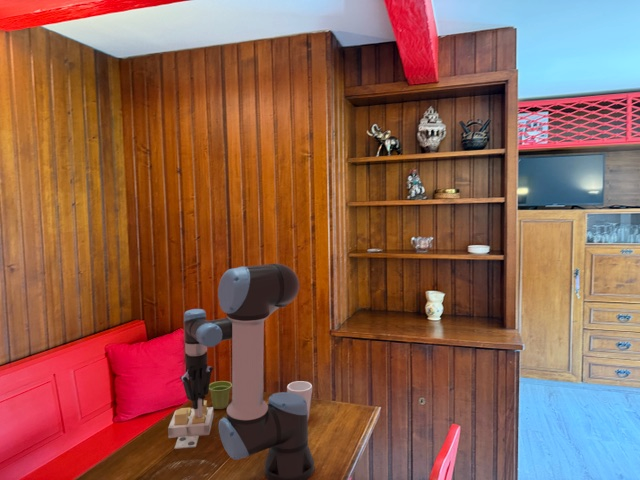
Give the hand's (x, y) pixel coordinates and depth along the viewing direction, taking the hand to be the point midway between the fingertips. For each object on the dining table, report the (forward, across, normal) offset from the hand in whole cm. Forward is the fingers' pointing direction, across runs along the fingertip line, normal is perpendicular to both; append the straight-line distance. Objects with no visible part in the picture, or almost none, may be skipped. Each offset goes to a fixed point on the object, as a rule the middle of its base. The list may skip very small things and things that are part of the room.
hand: (198, 416), depth 157 cm
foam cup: (+5, -28, +25) cm, 37 cm away
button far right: (+2, -4, -4) cm, 6 cm away
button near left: (+2, +4, -4) cm, 6 cm away
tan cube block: (+4, 0, -8) cm, 9 cm away
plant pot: (+6, -17, -8) cm, 20 cm away
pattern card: (+5, +8, +4) cm, 10 cm away
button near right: (+4, 0, 0) cm, 4 cm away
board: (+5, 0, -4) cm, 7 cm away
